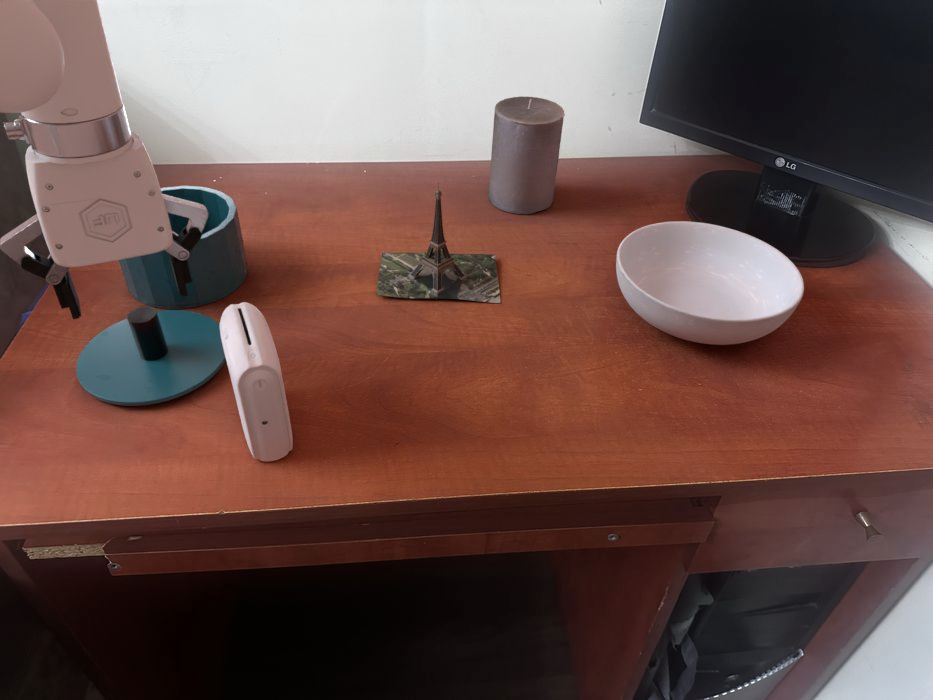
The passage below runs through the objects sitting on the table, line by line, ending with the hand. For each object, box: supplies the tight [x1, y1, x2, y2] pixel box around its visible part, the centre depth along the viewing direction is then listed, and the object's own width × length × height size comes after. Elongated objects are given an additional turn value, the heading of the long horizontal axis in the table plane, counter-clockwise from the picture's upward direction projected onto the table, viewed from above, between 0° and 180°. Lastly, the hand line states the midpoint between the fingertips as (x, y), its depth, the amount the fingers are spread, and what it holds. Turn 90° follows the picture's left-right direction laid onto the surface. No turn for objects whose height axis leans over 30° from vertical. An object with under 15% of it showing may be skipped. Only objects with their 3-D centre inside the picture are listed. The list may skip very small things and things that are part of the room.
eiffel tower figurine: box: [375, 182, 502, 304], centre depth 84 cm, size 15×10×13 cm
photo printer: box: [219, 301, 294, 463], centre depth 65 cm, size 10×4×12 cm, turn 23°
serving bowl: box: [615, 220, 805, 346], centre depth 83 cm, size 21×21×7 cm
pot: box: [118, 185, 248, 310], centre depth 85 cm, size 14×14×8 cm
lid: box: [75, 305, 226, 407], centre depth 73 cm, size 15×15×6 cm
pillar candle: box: [488, 96, 566, 215], centre depth 101 cm, size 10×10×15 cm
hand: (130, 299), depth 69 cm, fingers open, 9 cm apart
